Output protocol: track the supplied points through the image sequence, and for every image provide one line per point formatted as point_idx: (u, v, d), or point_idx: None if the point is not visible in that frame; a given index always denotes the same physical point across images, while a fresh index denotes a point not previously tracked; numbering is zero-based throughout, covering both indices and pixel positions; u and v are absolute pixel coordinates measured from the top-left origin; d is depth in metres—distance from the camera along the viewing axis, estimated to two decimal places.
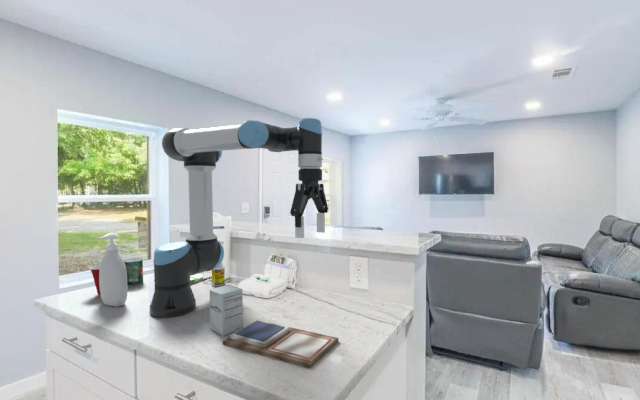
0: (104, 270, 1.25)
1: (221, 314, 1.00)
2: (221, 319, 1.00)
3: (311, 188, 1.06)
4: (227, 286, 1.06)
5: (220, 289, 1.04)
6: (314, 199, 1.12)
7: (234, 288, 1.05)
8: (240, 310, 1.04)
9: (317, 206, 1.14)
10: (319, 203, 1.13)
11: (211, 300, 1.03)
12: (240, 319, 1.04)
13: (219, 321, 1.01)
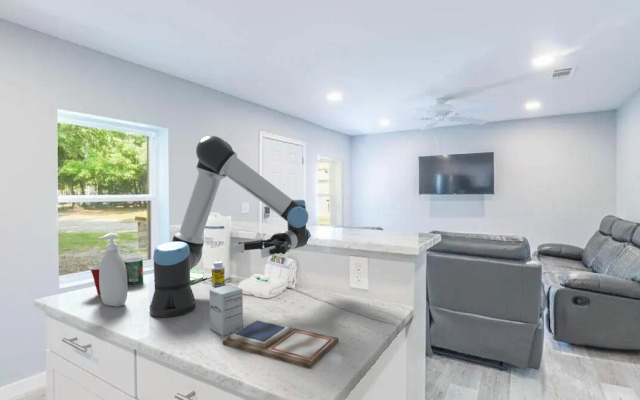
0: (104, 270, 1.25)
1: (221, 314, 1.00)
2: (221, 319, 1.00)
3: None
4: (227, 286, 1.06)
5: (220, 289, 1.04)
6: (259, 244, 1.24)
7: (234, 288, 1.05)
8: (240, 310, 1.04)
9: (250, 245, 1.23)
10: (254, 248, 1.23)
11: (211, 300, 1.03)
12: (240, 319, 1.04)
13: (219, 321, 1.01)
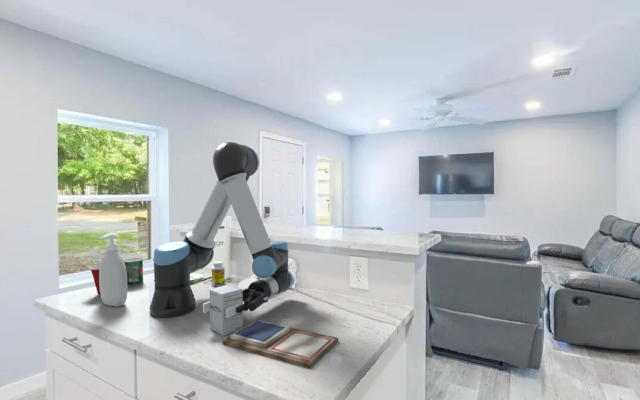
0: (104, 270, 1.25)
1: (221, 314, 1.00)
2: (221, 319, 1.00)
3: None
4: (227, 286, 1.06)
5: (220, 289, 1.04)
6: None
7: (234, 288, 1.05)
8: None
9: None
10: None
11: (211, 300, 1.03)
12: (240, 319, 1.04)
13: (219, 321, 1.01)
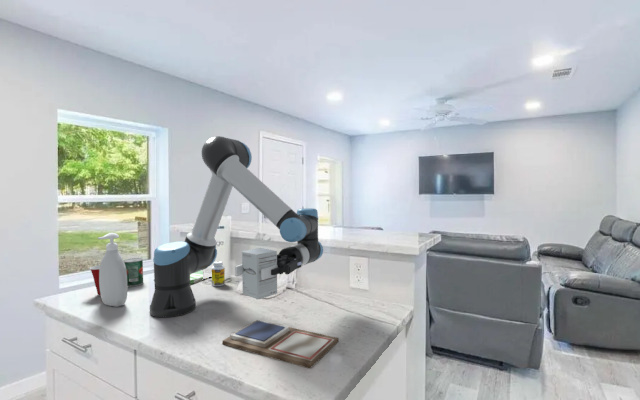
0: (104, 270, 1.25)
1: (256, 276, 0.93)
2: (255, 281, 0.93)
3: None
4: (259, 249, 1.00)
5: (253, 251, 0.97)
6: None
7: (268, 250, 0.98)
8: None
9: None
10: None
11: (244, 263, 0.97)
12: (274, 283, 0.98)
13: (253, 284, 0.94)
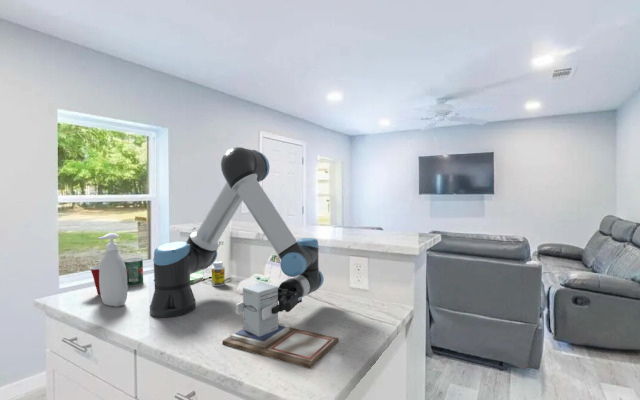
0: (104, 270, 1.25)
1: (257, 314, 0.94)
2: (257, 319, 0.94)
3: None
4: (260, 284, 1.00)
5: (254, 287, 0.98)
6: None
7: (269, 286, 0.99)
8: None
9: None
10: None
11: (245, 299, 0.97)
12: (275, 319, 0.98)
13: (254, 321, 0.95)
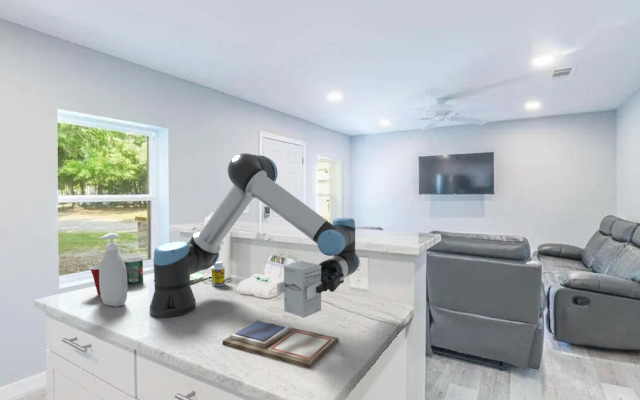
0: (104, 270, 1.25)
1: (301, 293, 0.87)
2: (301, 298, 0.87)
3: None
4: (301, 262, 0.93)
5: (296, 265, 0.91)
6: None
7: (311, 264, 0.92)
8: None
9: None
10: None
11: (287, 278, 0.90)
12: (319, 299, 0.91)
13: (298, 301, 0.88)
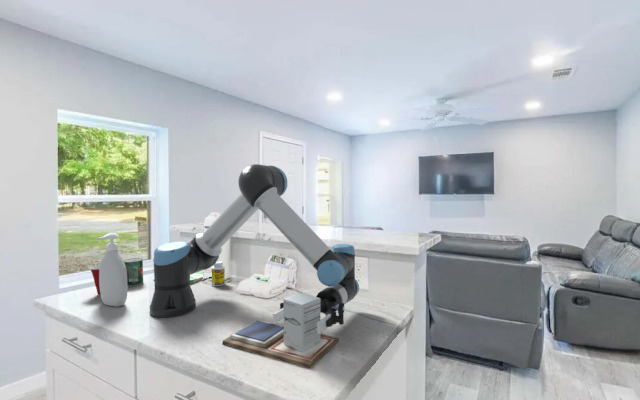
0: (104, 270, 1.25)
1: (301, 328, 0.87)
2: (300, 333, 0.87)
3: None
4: (301, 295, 0.94)
5: (296, 298, 0.91)
6: None
7: (311, 297, 0.92)
8: None
9: None
10: None
11: (286, 311, 0.90)
12: None
13: (297, 335, 0.88)
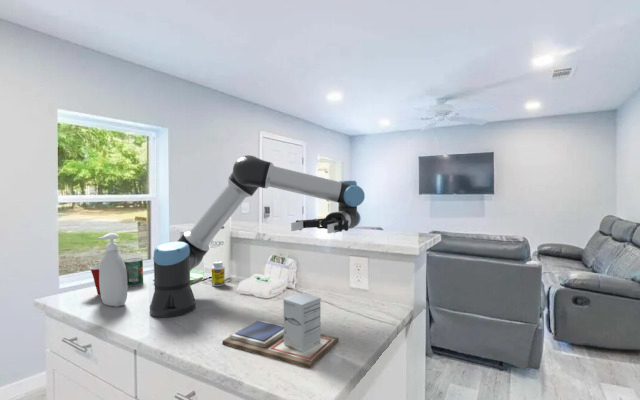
0: (104, 270, 1.25)
1: (301, 328, 0.87)
2: (300, 333, 0.87)
3: None
4: (301, 295, 0.94)
5: (296, 298, 0.91)
6: (316, 222, 1.23)
7: (311, 297, 0.92)
8: (318, 322, 0.92)
9: (308, 223, 1.22)
10: (312, 226, 1.22)
11: (286, 311, 0.90)
12: (318, 332, 0.92)
13: (297, 335, 0.88)
